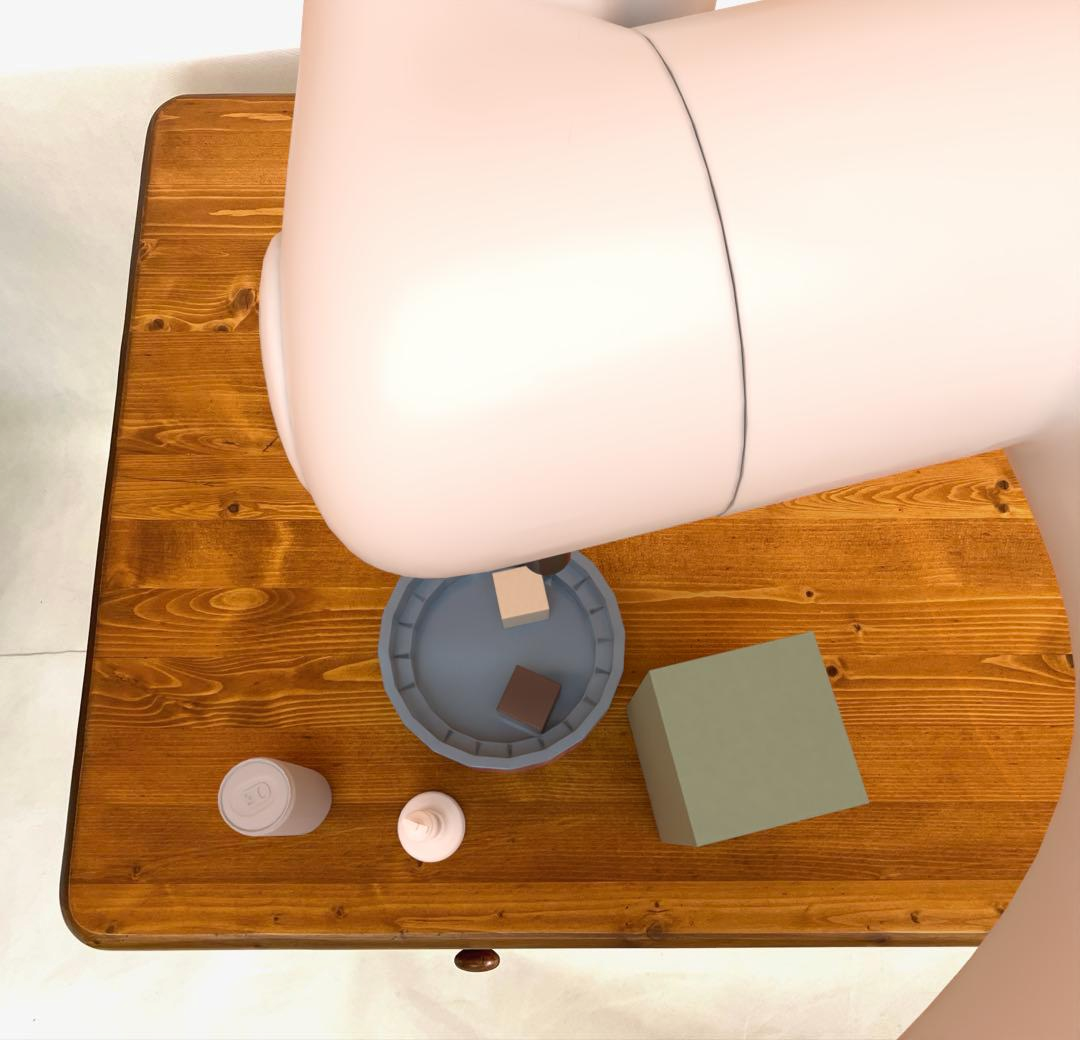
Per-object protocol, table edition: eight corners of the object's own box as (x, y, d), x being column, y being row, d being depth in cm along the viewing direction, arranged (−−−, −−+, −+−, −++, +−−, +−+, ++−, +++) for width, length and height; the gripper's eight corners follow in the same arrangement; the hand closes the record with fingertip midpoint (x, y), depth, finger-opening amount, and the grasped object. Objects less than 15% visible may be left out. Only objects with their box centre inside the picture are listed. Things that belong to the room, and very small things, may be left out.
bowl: (645, 741, 73) (653, 734, 68) (415, 798, 72) (404, 796, 67) (587, 523, 78) (590, 501, 73) (371, 573, 77) (358, 554, 72)
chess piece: (451, 871, 70) (436, 878, 61) (387, 848, 71) (362, 851, 61) (474, 804, 72) (463, 800, 62) (412, 782, 72) (391, 774, 63)
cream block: (549, 619, 75) (549, 608, 72) (503, 628, 75) (501, 619, 72) (539, 574, 76) (539, 562, 73) (494, 584, 76) (491, 573, 73)
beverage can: (258, 786, 72) (203, 778, 61) (318, 755, 73) (275, 742, 62) (283, 847, 71) (232, 850, 60) (344, 815, 72) (305, 813, 60)
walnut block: (542, 735, 73) (541, 731, 69) (498, 715, 73) (495, 710, 70) (561, 691, 74) (562, 684, 70) (518, 671, 74) (516, 664, 71)
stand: (793, 809, 72) (870, 802, 54) (661, 842, 71) (697, 846, 54) (752, 676, 75) (813, 630, 57) (625, 707, 74) (648, 670, 57)
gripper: (250, 418, 25) (376, 595, 42) (863, 283, 26) (737, 511, 43) (212, 175, 27) (346, 438, 44) (775, 60, 28) (689, 362, 45)
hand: (538, 472), depth 44 cm, fingers closed on stirring stick, 2 cm apart
